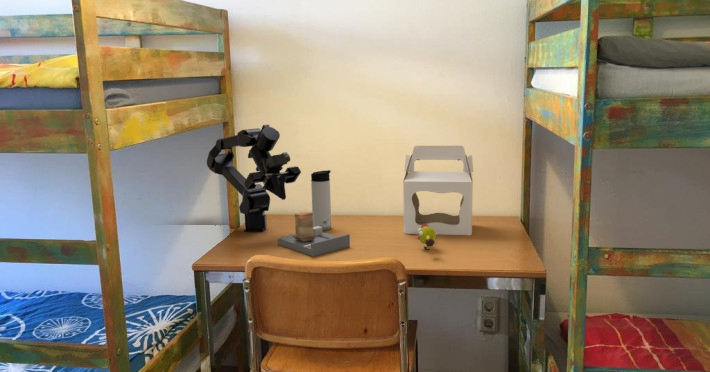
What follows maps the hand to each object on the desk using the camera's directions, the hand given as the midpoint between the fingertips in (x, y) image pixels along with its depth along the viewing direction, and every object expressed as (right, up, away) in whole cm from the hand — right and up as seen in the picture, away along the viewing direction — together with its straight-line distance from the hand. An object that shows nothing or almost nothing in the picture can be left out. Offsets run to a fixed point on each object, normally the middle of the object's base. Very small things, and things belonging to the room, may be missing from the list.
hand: (284, 198), depth 187 cm
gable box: (+50, -11, +11) cm, 52 cm away
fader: (+7, -12, -6) cm, 15 cm away
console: (+9, -14, -4) cm, 18 cm away
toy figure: (+43, -15, -10) cm, 47 cm away
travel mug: (+11, -11, +15) cm, 22 cm away
